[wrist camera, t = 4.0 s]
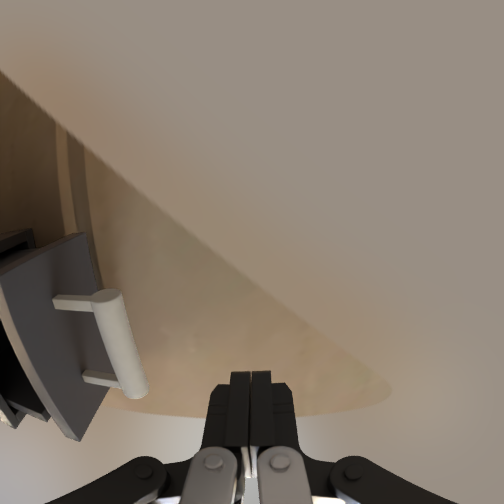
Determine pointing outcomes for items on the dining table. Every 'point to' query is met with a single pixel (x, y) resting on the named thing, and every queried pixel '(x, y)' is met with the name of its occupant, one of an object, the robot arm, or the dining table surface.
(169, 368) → the dining table surface
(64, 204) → the dining table surface
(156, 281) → the dining table surface
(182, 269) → the dining table surface
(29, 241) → the cabinet
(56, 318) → the drawer
